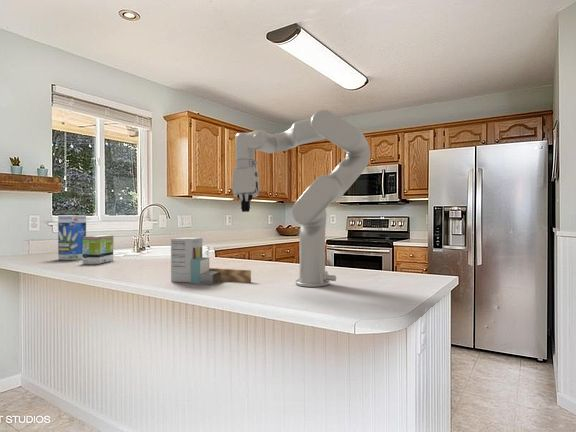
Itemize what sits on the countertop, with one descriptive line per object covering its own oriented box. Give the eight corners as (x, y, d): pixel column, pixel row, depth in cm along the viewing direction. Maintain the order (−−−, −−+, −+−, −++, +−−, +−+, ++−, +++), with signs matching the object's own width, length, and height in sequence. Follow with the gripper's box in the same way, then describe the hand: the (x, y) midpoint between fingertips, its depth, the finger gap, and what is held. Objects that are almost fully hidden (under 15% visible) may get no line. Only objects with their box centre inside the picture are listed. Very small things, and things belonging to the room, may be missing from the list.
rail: (250, 281, 147) (250, 270, 147) (249, 282, 146) (249, 270, 146) (210, 278, 154) (210, 267, 154) (208, 279, 153) (208, 268, 153)
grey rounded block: (220, 281, 150) (220, 271, 150) (212, 285, 142) (212, 274, 142) (208, 281, 151) (208, 271, 151) (200, 284, 143) (200, 274, 143)
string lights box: (57, 259, 222) (57, 215, 222) (67, 258, 230) (66, 215, 230) (78, 260, 220) (77, 215, 220) (87, 258, 228) (86, 215, 228)
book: (209, 280, 152) (209, 257, 151) (200, 283, 144) (200, 260, 144) (199, 279, 152) (199, 257, 152) (190, 283, 145) (190, 259, 145)
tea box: (100, 264, 202) (100, 236, 202) (81, 264, 202) (81, 236, 202) (114, 260, 217) (113, 234, 217) (96, 260, 217) (96, 234, 217)
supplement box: (192, 282, 146) (191, 238, 146) (170, 282, 148) (169, 238, 148) (203, 278, 155) (202, 237, 155) (182, 277, 157) (182, 237, 157)
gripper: (266, 165, 151) (266, 211, 151) (233, 167, 156) (234, 211, 157) (257, 162, 144) (258, 211, 144) (223, 165, 150) (224, 211, 150)
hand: (245, 211), depth 150 cm, fingers closed
